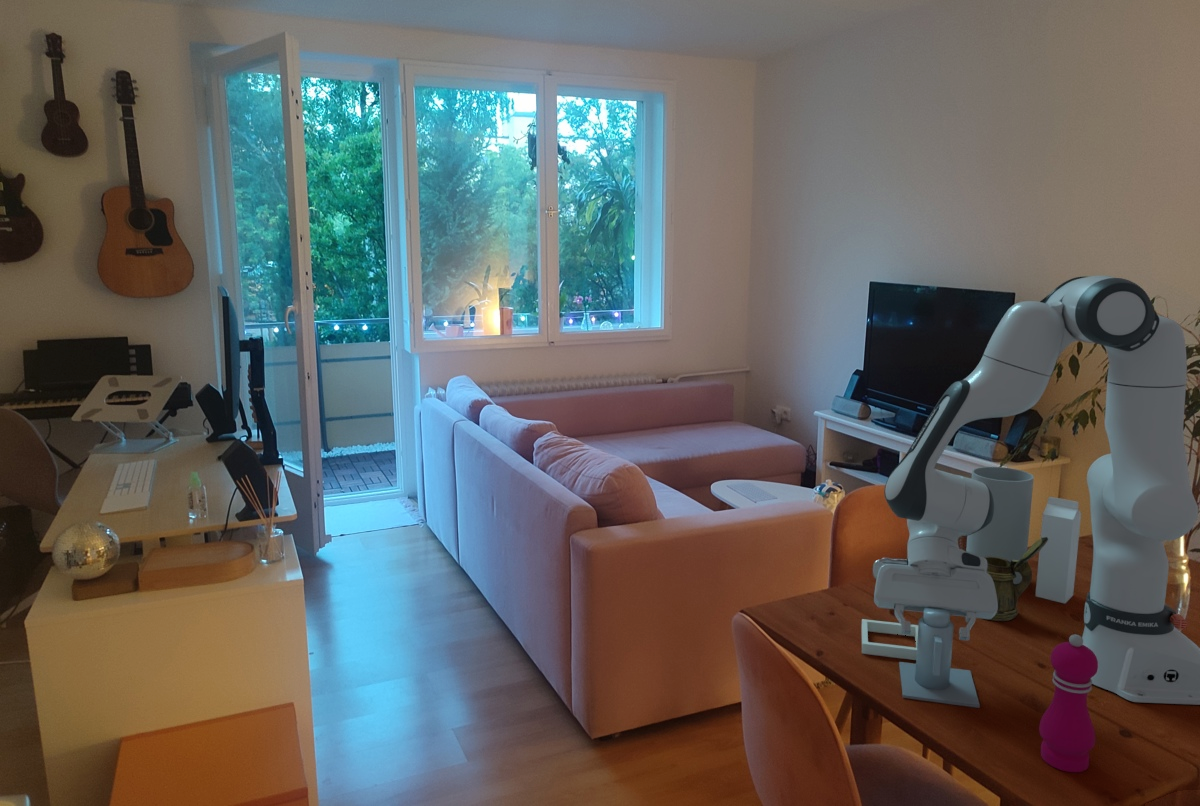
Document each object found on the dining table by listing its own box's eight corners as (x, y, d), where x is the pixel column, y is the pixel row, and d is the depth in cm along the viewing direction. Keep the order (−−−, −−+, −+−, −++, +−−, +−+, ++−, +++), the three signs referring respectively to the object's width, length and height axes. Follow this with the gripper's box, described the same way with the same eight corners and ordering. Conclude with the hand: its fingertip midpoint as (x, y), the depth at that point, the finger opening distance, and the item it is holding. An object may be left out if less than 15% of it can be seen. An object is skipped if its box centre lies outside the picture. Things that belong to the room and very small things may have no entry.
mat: (970, 673, 149) (970, 670, 149) (979, 708, 138) (979, 705, 138) (899, 664, 152) (899, 661, 152) (902, 697, 141) (903, 694, 141)
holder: (919, 634, 164) (920, 625, 163) (924, 661, 153) (924, 651, 153) (861, 628, 167) (861, 619, 167) (862, 653, 157) (862, 643, 156)
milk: (1043, 588, 185) (1052, 493, 182) (1073, 595, 181) (1083, 498, 178) (1034, 596, 181) (1043, 499, 177) (1065, 604, 177) (1074, 504, 173)
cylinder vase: (984, 564, 200) (992, 464, 195) (1035, 581, 189) (1045, 475, 185) (953, 576, 193) (960, 472, 188) (1004, 594, 183) (1013, 484, 178)
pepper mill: (1064, 779, 119) (1077, 649, 116) (1025, 750, 126) (1036, 627, 122) (1104, 769, 121) (1118, 642, 117) (1064, 742, 128) (1076, 621, 124)
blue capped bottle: (947, 676, 147) (952, 607, 145) (952, 699, 139) (958, 627, 137) (913, 671, 149) (918, 603, 146) (917, 694, 141) (922, 623, 139)
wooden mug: (1039, 630, 165) (1047, 544, 162) (966, 615, 172) (972, 533, 169) (1042, 613, 173) (1049, 530, 170) (971, 600, 180) (977, 520, 176)
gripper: (873, 549, 151) (872, 622, 143) (996, 560, 145) (1002, 636, 138) (872, 563, 156) (870, 635, 149) (990, 574, 150) (995, 649, 143)
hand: (934, 636), depth 143 cm, fingers open, 8 cm apart
